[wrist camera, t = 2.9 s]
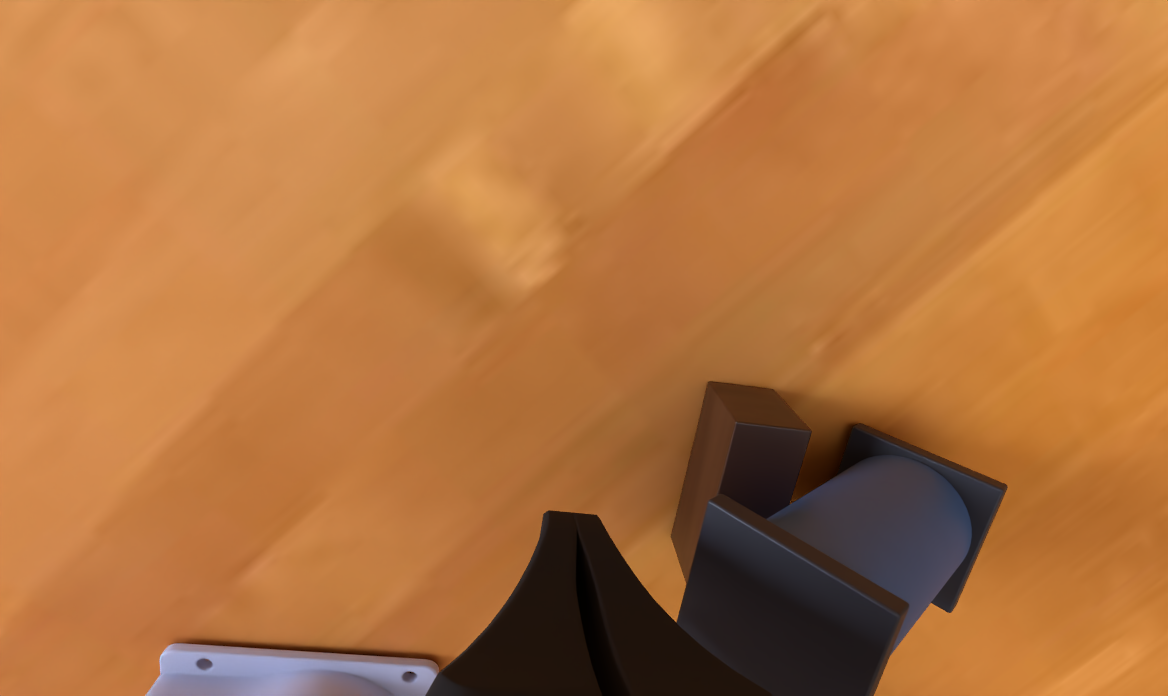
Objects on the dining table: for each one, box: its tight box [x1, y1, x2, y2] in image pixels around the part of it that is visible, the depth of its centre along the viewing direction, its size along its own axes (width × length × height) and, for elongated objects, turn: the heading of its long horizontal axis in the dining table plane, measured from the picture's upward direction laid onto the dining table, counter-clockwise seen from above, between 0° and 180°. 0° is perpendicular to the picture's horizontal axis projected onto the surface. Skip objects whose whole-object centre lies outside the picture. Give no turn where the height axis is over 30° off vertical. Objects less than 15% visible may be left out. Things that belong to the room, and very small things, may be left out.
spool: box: [677, 423, 1007, 696], centre depth 16 cm, size 10×4×9 cm, turn 81°
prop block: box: [671, 382, 812, 584], centre depth 19 cm, size 2×6×3 cm, turn 171°
